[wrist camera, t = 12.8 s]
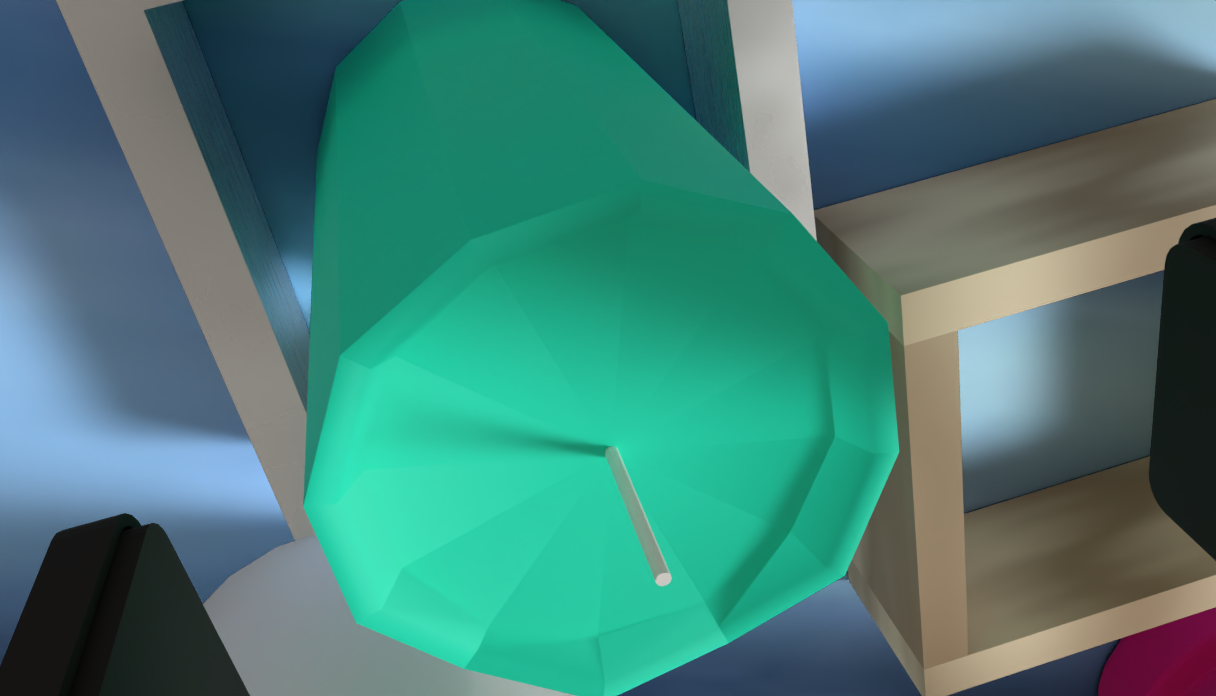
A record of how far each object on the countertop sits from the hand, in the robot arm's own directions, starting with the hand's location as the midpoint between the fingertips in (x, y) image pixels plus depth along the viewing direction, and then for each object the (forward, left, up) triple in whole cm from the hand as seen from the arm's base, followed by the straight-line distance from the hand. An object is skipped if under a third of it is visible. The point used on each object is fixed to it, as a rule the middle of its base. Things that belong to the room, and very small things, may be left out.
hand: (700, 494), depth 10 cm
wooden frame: (-10, +8, -11) cm, 17 cm away
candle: (+1, 0, -11) cm, 11 cm away
